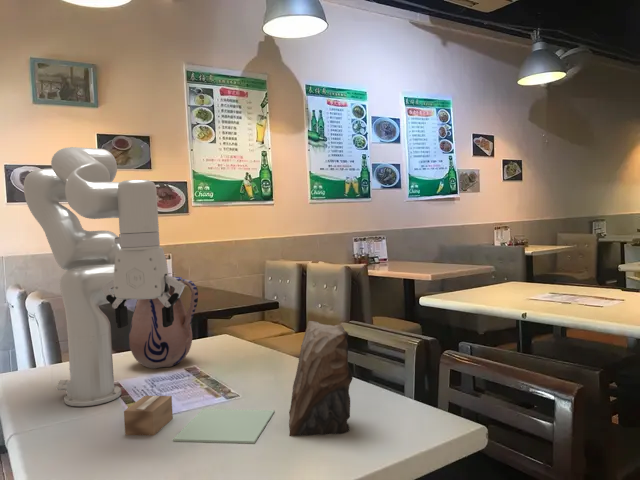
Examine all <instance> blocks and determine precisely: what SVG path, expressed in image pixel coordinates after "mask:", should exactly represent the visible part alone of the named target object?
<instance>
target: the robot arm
mask: <svg viewBox="0 0 640 480" xmlns="http://www.w3.org/2000/svg"><path fill="white" fill-rule="evenodd" d="M50 163H51V164H50V165H51V168H40V169H36V170H33V171H31V172H29V173H28V174H27V175H26V176H25V178H24V181H23V193H24V200H25V202H26V204H27V207H28V210H29V211H30V213H31V214H32V216H33V218H34V219H35V220H36V222H37V223H38V224H39V225H40V227H41V229H42V230H43V232H44V234H45V237H46V240H47V242H48V245H49V248H50V250H51V253H52V255H53V257H54V259H55V261H56V263H57V266H59V267H60V269H62V270H65V272H63V274H62V275H61V277H60V279H59V288H60V289H59V290H60V294H61V298H62V299H61V300H62V302H63V306H64V312H65V319H66V331H67V343H68V344H67V345H68V346H67V347H68V359H69V360H68V363H69V365H68V366H69V376H70V377H69V378H70V379H69V380H68V379H60V380H59V381H58V384H57V386H56V390H57V391H66V394H65V395H64V398H63V399H64V404H66V405H67V406H70V407H71V406H72V407H91V406H97V405H103V404H105V403H108V402H111V401H114V400H117V399H118V398H119V397H121V395H122V388H121V387H119V386H118V385H115V378H114V362H113V361H114V360H113V345H112V344H113V343H112V328H111V327H112V326H111V322H110V320H109V317H108V316H107V315H106V314H105V313H104V312H103V311H102V309H100V307H99V306H102V305H107V304H110V305H111V307H112V309H115V311H114V312H115V313H114V314H115V323H116V324H117V328H118V329H122V328H124V327H127V326H129V313H128V306H127V305H126V303H127V301H129V300H130V301H131V300H137V299H155V298H158V299H159V300H160V301H161V302H162V304H163V305H164V307H163V308H162V321H163V327H168V326H171V325H172V323H173V321H174V312H173V305H174V304H175V303H176V301H177V300H178V299H179V298H180V297H181V298H182V293H183V291H184V289H185V287H186V285H184V283H182V282H180V281H178V280H176V279H174V278H172V277H173V276H170V275H169V268H168V263H167V258H166V254H165V252H164V247H161V245H160V241H161V240H160V229H159V228H160V226H159V211H158V197H157V196H158V193H157V186H156V184H155V182H154V181H152V180H149V179H128V180H123V181H114V180H115V178H116V176H117V172H118V165H117V161H116V158H115V157H114V155H113V153H111V152H110V151H109V150H107V149H104V148H96V147H95V148H93V147H77V146H75V147H73V146H71V147H63V148H61V149H58V150H57V151H56V152H55V153H54V154H53V155H52V157H51V162H50ZM61 203H67V204H68V206H69V207H70V208H71V209H72V210H73V211H74V212H75V213H76V214H78V215H79V216H81V217H83V218H85V219H89V220H90V219H92V220H96V219H97V220H99V219H100V220H101V219H118V227H119V229H118V230H119V234H118V235H117V234H116V233H115V232H112V231H110V230H86V229H84V228H83V226H82V224H81V221H80V219H79V218H78V216H77V215H76V214H75V213H74V212H73V211H71V210H70V209H69V208H68V207H66V206H64V204H61ZM170 285H171V286H173V287H174V288H175V291H174V294H173V295H172V296H171V295H170V294H169V290H170Z"/></svg>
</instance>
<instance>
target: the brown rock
mask: <svg viewBox="0 0 640 480" xmlns="http://www.w3.org/2000/svg"><path fill="white" fill-rule="evenodd" d="M303 335H304V336H303V339H302V342H301V346H300V352H299V356H298V357H299V358H298V363H297V366H296V367H297V368H296V373H295V378H294V380H293V385H292V394H291V401H290V409H289V410H288V411H289V414H288V415H289V422H288V429H289V433H288V435H289V437H295V436H296V437H299V436H314V435H315V436H317V435H318V436H325V435H341V434H346V433H348V432H350V426H349V423H348V420H349V419H350V418H351V396H350V391H349V390H350V385H351V383H352V381H353V379H354V378H353V377H354V376H353V373H352V369H351V368H350V367H349V359H348V358H349V356H348V355H349V344H348V338H349V333H348V332H347V330H345V328H344V327H343V325H341V324H335V325H332V324H325V323H324V324H323V323H320V322H318V321H313V320H308V321H307V324H306V329H305V332H304V334H303Z"/></svg>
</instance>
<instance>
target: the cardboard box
mask: <svg viewBox="0 0 640 480" xmlns="http://www.w3.org/2000/svg"><path fill="white" fill-rule="evenodd" d="M173 415H174V414H173V397H172V395H144V396H143V397H140V399H138V400H137V401H135V402H134V403H133V404H131V405H130V406H129V407H127V408H126V409H124V410H123V418H124V419H123V420H124V421H123V422H124V435H125V436H150V437H151V436H156V434H157V433H158V432H160V431H161V430H162V429H163V428H165V426H167V424H168V423H170V421H172V420H173V419H174V418H173V417H174V416H173Z"/></svg>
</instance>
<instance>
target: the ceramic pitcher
mask: <svg viewBox="0 0 640 480" xmlns="http://www.w3.org/2000/svg"><path fill="white" fill-rule="evenodd" d="M171 277H172V278H174V279H176V280H178V281H180V282H182V283H184V285H185V286H187V287H188V288H189V290H190V291H191V294H190V295H191V297H190V298H191V299H190V304H189V307H188V308H187V309H188V311H187V310H186V307H185V305H184V303H183V300H182V296H181V297H180V298H179V299H178V300H177V301H176V303H175V304H174V305H173V312H174V321H173V323H172V325H171V326H168V327H163V321H162V308H163V307H164V305H163V304H162V302H161V301H160V300H159V299H158V298H155V299H136V300H137V301H136V302H135V307H134V310H133V314H132V318H131V322H130V328H129V333H128V345H129V350H130V352H131V354H132V356H133V357H134V359H135V360H136V361H137V362H138V363H139V364H140V365H142V366H144V367H146V368H148V369H159V368H170V367H171V368H172V367H174V366H175V365H178V364H180V362H182V361H183V360H184V359H185V358H186V356H187V355H188V354H189V352H190V350H191V347H192V344H193V331H192V326H191V325H192V320H193V318H194V315H195V313H196V310H197V305H198V301H199V290H198V287H197V286H196V284H195V283H194V282H193V281H192V280H190V279H186V278H185V279H183V277H181V276H171ZM174 291H175V288H174V287H173V286H171V285H170V290H169V294H170V295H171V296H172V295H173V294H174Z"/></svg>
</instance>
